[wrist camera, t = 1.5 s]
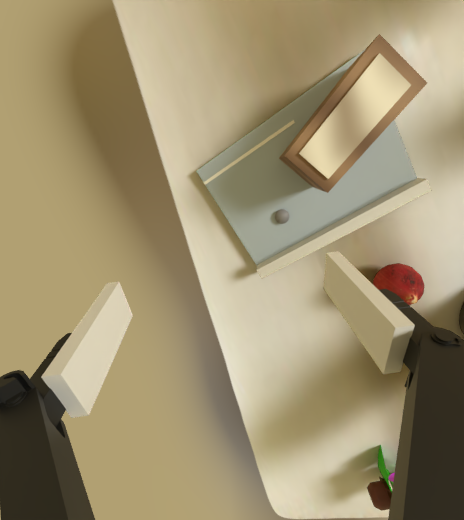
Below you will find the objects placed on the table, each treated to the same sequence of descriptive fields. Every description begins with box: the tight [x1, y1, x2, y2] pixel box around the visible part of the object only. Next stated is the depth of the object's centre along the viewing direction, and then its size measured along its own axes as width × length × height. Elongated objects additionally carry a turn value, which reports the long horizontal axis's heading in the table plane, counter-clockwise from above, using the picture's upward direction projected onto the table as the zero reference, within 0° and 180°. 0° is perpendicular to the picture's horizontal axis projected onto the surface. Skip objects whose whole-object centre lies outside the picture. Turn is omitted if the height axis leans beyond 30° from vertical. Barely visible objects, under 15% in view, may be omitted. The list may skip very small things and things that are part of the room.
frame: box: [279, 34, 427, 193], centre depth 27 cm, size 12×6×8 cm, turn 143°
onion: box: [373, 263, 424, 305], centre depth 34 cm, size 6×6×8 cm
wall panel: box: [196, 49, 432, 278], centre depth 33 cm, size 24×18×3 cm
